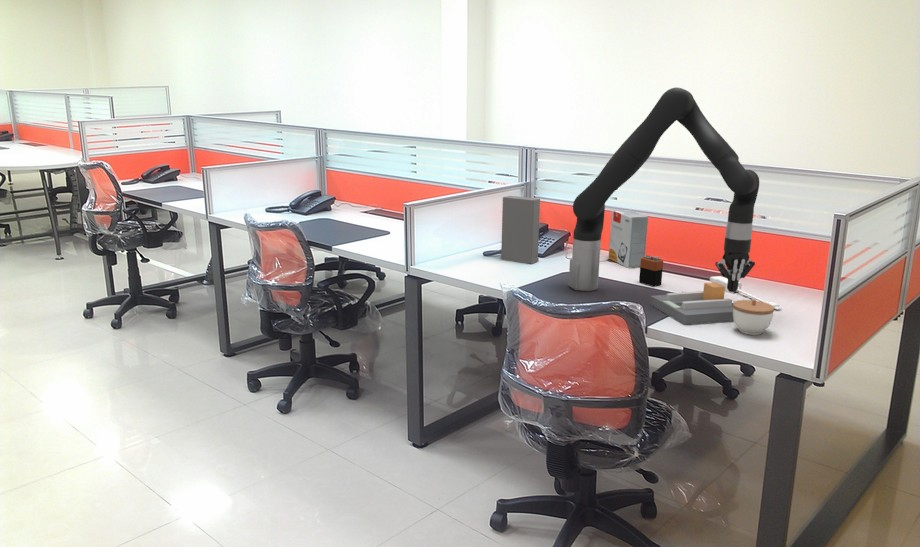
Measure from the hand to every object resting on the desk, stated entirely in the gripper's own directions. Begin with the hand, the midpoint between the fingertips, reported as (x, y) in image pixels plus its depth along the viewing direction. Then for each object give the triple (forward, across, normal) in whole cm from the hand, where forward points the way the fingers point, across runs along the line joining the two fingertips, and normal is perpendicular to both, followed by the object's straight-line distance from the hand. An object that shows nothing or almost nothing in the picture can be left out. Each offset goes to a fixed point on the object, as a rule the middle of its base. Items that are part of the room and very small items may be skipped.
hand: (732, 291), depth 220 cm
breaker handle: (+3, -6, 0) cm, 7 cm away
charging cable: (+7, +14, +13) cm, 20 cm away
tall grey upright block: (+6, -43, +75) cm, 87 cm away
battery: (+6, -9, +33) cm, 35 cm away
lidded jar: (+6, -6, -19) cm, 21 cm away
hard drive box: (+6, -3, +63) cm, 63 cm away
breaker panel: (+6, -12, 0) cm, 13 cm away
